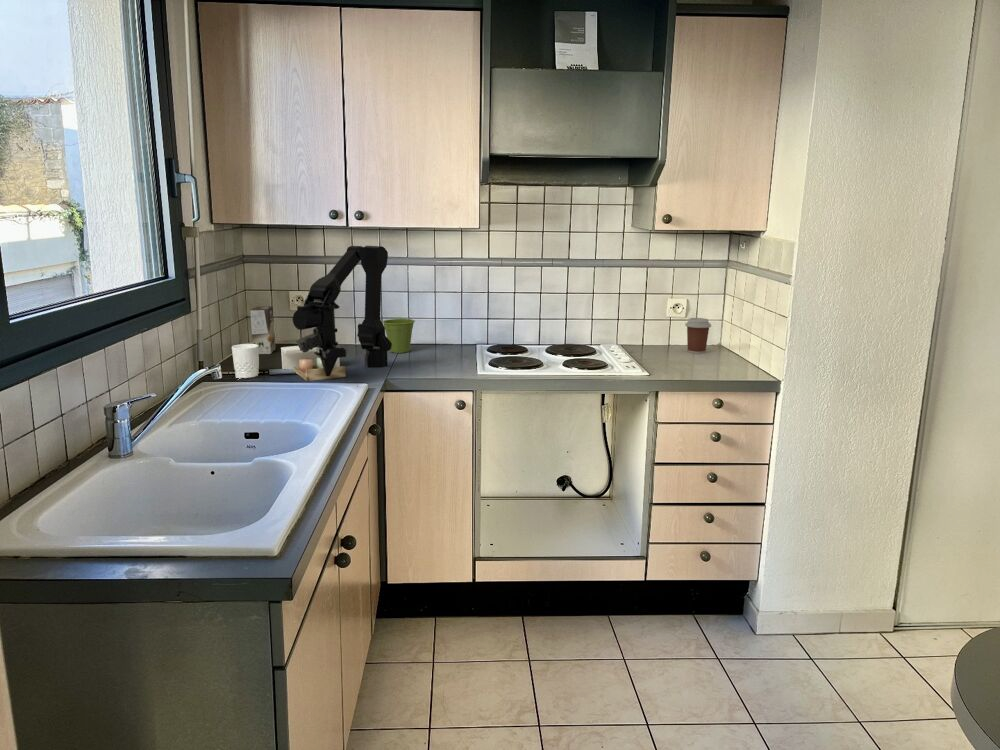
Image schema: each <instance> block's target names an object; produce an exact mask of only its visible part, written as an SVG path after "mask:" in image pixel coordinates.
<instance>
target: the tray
mask: <svg viewBox="0 0 1000 750" xmlns="http://www.w3.org/2000/svg"><path fill="white" fill-rule="evenodd" d="M294 370H295V371H296V373H295V374H296V375H298V377H299V376H300V377H301V378H302V379H304V380H305V381H306V382H310V381H311V382H313V381H321V380H328V379H329V380H330V379H336V378H337V379H338V378H344V377H345V378H346V374H347V373H346V366H345V365H340V366H338V367H335V366H334V367H333V370H332V372H331V375H330V376H326V375H325V371H324V368H319V369H317V365H313V369H310V370H306V373H303V372H302V371H301V370H300V367H294V369H293V371H294Z"/></svg>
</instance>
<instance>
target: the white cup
mask: <svg viewBox="0 0 1000 750" xmlns="http://www.w3.org/2000/svg"><path fill="white" fill-rule="evenodd" d="M231 353H232V359H233V360H232V361H233V369H234V374H235V379H236V378H239V379H242V378H243V379H247V378H255V377H257V376H259V375H258V374H259V369H260V357H259V355H260V354H259V346H258V345H257V344H253V343H240V344H239V343H238V344H234V345H232V346H231ZM239 379H238V380H239Z"/></svg>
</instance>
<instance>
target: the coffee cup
mask: <svg viewBox="0 0 1000 750" xmlns="http://www.w3.org/2000/svg"><path fill="white" fill-rule="evenodd" d="M684 325H685V327H686V334H687V335H686V336H687V338H686V339H687V342H686V343H687V344H686V345H687V352H688V353H689V354H690V353H691V354H705V353H706V350H707V344H708V338H709V331H710V328H711V327H712V323H710V322H709V319H708V318H704V317H690V318H688V321H687V322H685V324H684Z"/></svg>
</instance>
